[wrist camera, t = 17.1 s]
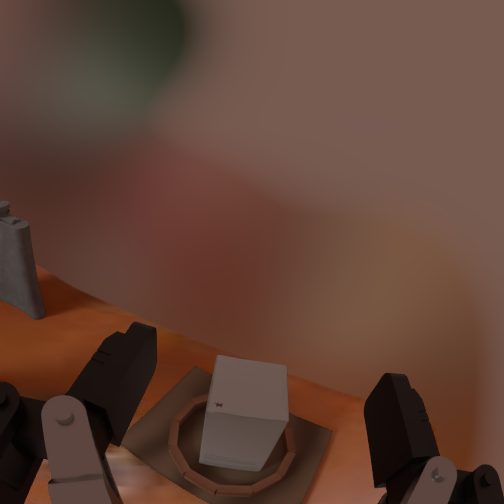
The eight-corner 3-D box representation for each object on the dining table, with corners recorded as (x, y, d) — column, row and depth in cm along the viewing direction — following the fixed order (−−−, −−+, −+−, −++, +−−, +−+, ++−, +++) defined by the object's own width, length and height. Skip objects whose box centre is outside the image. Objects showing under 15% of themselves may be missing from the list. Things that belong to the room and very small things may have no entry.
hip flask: (-10, 296, 42) (-30, 202, 34) (2, 286, 46) (-15, 195, 37) (39, 321, 42) (17, 214, 33) (51, 309, 45) (34, 205, 37)
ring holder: (119, 443, 28) (115, 434, 27) (195, 370, 42) (196, 359, 41) (282, 535, 21) (288, 532, 19) (330, 434, 35) (336, 425, 34)
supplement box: (260, 473, 28) (290, 423, 22) (197, 464, 27) (202, 410, 22) (263, 425, 34) (288, 363, 29) (206, 416, 34) (216, 351, 29)
